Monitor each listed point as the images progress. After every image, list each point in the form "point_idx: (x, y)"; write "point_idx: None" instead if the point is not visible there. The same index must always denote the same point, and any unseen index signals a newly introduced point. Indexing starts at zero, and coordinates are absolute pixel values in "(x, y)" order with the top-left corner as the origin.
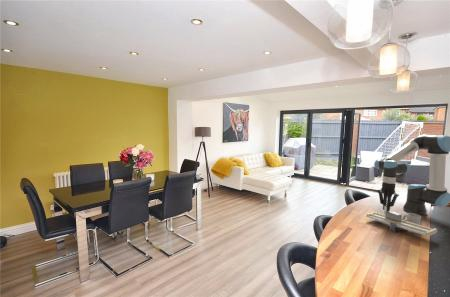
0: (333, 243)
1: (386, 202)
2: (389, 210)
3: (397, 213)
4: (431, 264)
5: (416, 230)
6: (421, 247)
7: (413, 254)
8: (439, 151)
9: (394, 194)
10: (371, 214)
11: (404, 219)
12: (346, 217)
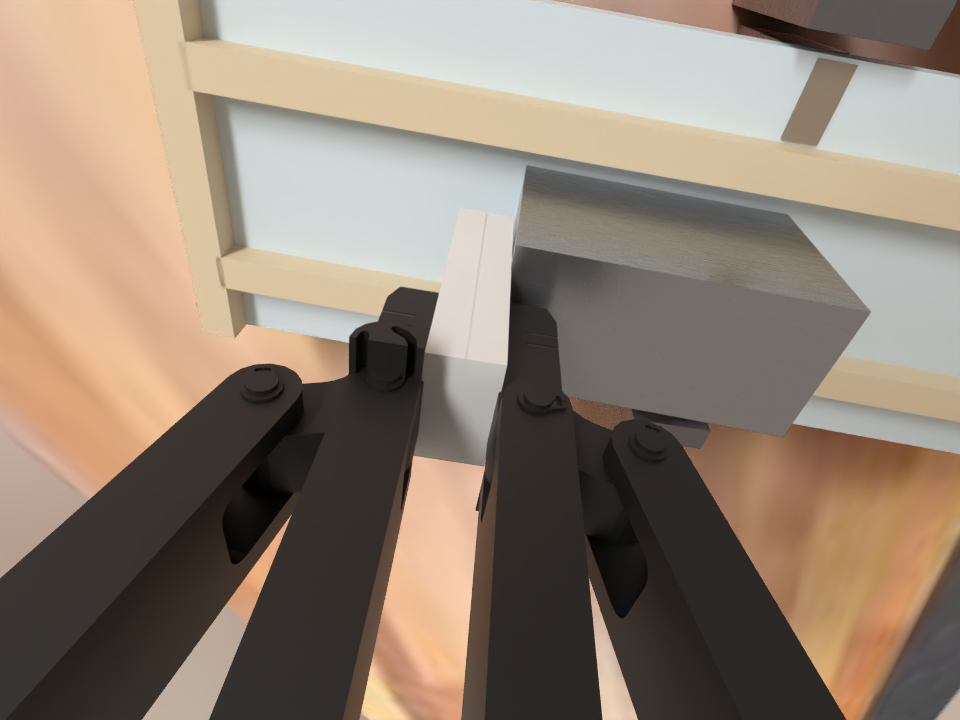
0: (419, 717)
1: (403, 474)
2: (552, 331)
3: (757, 326)
4: (922, 641)
5: None
6: (922, 488)
7: (827, 608)
8: None
9: None
10: (255, 293)
11: (884, 20)
12: (74, 353)
